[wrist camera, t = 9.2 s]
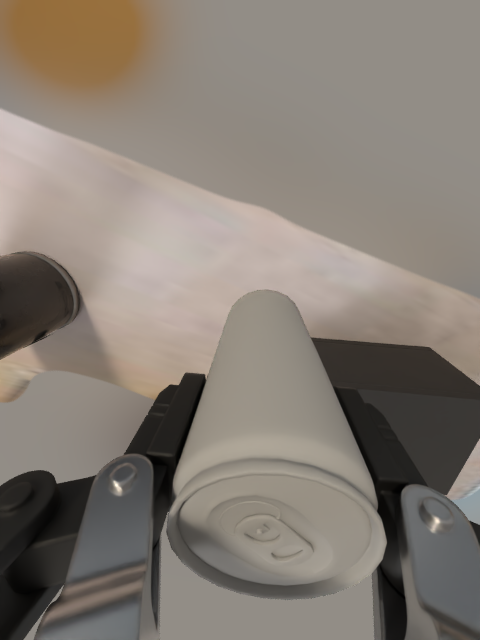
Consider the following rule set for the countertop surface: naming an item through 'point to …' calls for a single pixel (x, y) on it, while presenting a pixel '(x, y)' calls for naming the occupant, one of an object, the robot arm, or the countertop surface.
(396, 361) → the dark grey lidded box
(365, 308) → the countertop surface
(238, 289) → the countertop surface
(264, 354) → the beverage can
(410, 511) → the robot arm
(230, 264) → the countertop surface
